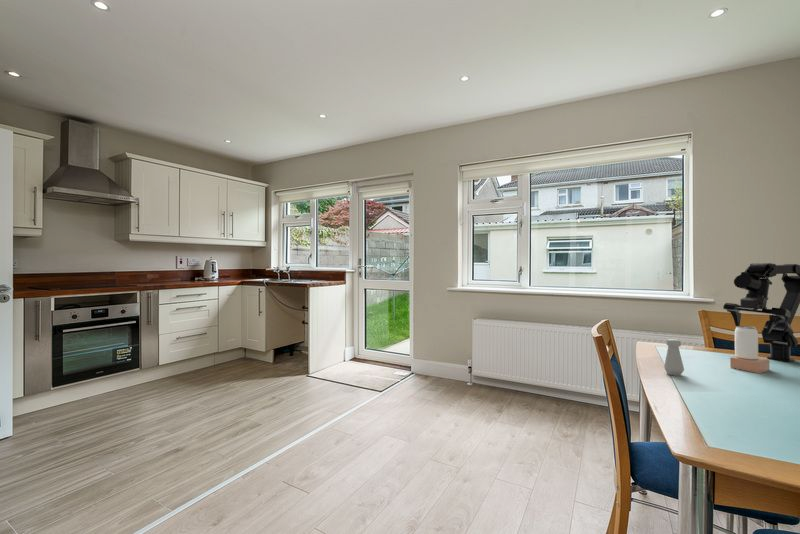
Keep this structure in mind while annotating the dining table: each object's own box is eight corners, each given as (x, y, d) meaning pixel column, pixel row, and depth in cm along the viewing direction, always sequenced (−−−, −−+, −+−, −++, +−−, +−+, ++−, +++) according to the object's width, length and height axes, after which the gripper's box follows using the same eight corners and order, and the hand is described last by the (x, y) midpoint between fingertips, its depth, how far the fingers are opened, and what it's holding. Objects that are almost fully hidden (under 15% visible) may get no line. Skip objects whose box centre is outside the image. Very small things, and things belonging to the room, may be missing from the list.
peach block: (740, 364, 142) (740, 354, 142) (769, 370, 134) (769, 359, 134) (730, 367, 138) (730, 357, 138) (759, 373, 130) (759, 362, 130)
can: (747, 360, 133) (747, 328, 133) (730, 356, 140) (729, 325, 140) (763, 359, 134) (762, 328, 134) (745, 355, 140) (744, 325, 140)
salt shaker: (688, 376, 128) (687, 341, 128) (672, 377, 128) (671, 341, 128) (675, 371, 134) (675, 337, 134) (660, 372, 134) (660, 337, 134)
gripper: (720, 287, 149) (714, 323, 148) (782, 291, 133) (776, 332, 132) (731, 292, 154) (726, 327, 153) (793, 297, 138) (787, 336, 137)
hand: (752, 330), depth 143 cm, fingers open, 9 cm apart
